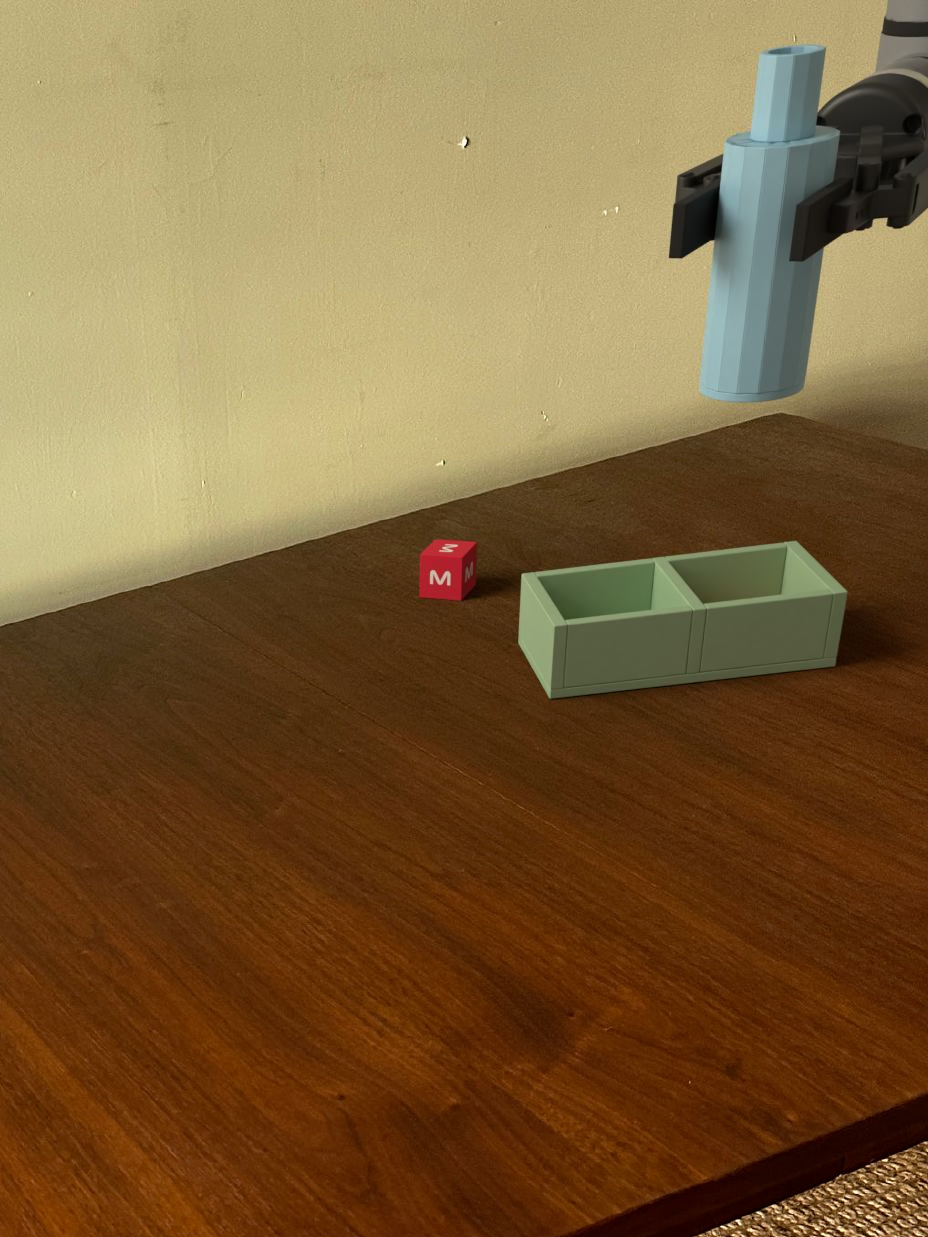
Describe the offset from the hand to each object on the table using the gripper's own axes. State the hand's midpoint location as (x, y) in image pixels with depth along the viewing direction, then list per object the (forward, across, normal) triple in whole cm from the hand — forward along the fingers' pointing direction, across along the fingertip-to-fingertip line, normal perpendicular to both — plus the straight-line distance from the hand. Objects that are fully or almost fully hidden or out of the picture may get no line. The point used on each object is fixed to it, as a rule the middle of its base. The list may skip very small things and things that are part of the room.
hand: (738, 232), depth 95 cm
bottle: (-5, 0, -9) cm, 11 cm away
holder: (+1, +1, -24) cm, 24 cm away
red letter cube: (-4, +19, -24) cm, 31 cm away
